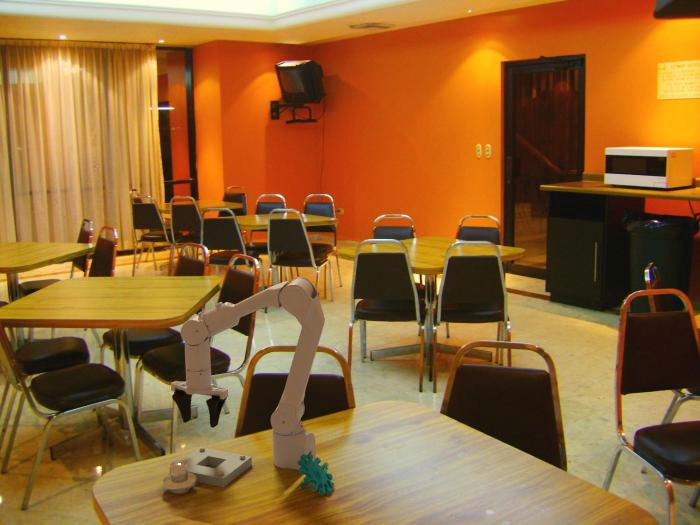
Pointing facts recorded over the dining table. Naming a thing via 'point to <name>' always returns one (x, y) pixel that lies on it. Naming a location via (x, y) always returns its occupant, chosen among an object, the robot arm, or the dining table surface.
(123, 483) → the dining table surface
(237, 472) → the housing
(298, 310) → the robot arm
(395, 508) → the dining table surface
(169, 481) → the end cap
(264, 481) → the dining table surface
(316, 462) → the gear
